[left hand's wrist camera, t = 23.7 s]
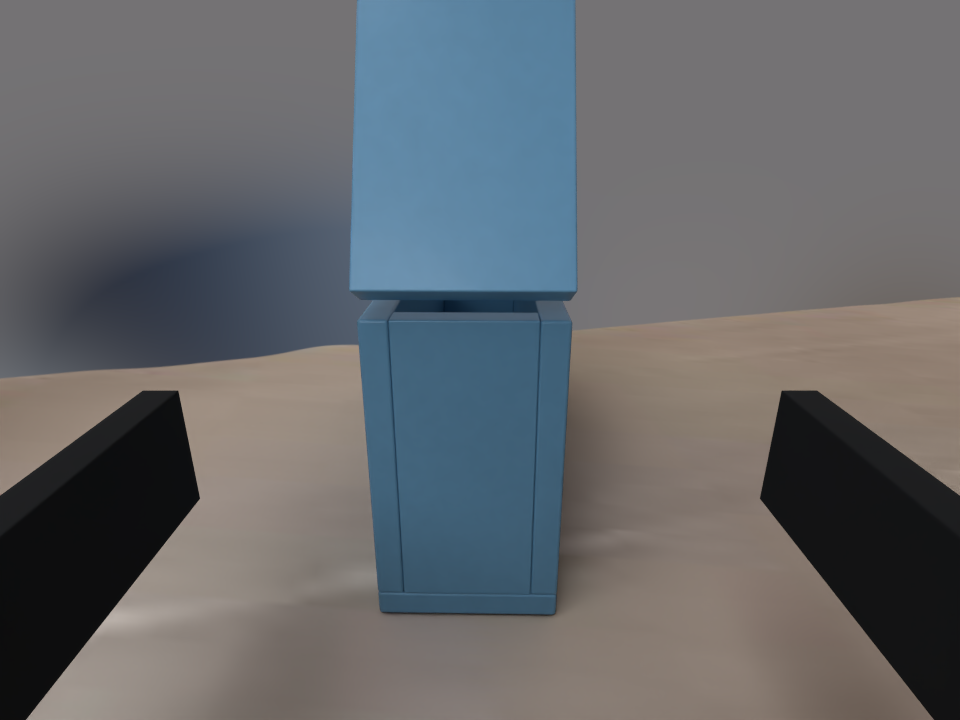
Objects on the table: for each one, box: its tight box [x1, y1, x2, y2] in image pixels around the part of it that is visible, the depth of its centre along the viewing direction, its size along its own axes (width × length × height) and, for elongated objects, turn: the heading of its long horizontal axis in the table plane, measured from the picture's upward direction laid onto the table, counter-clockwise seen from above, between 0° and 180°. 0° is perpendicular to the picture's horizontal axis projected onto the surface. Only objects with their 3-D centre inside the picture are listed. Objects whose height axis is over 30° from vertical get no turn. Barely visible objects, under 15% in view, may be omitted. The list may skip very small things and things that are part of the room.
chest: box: [357, 300, 572, 615], centre depth 23 cm, size 16×5×9 cm, turn 179°
